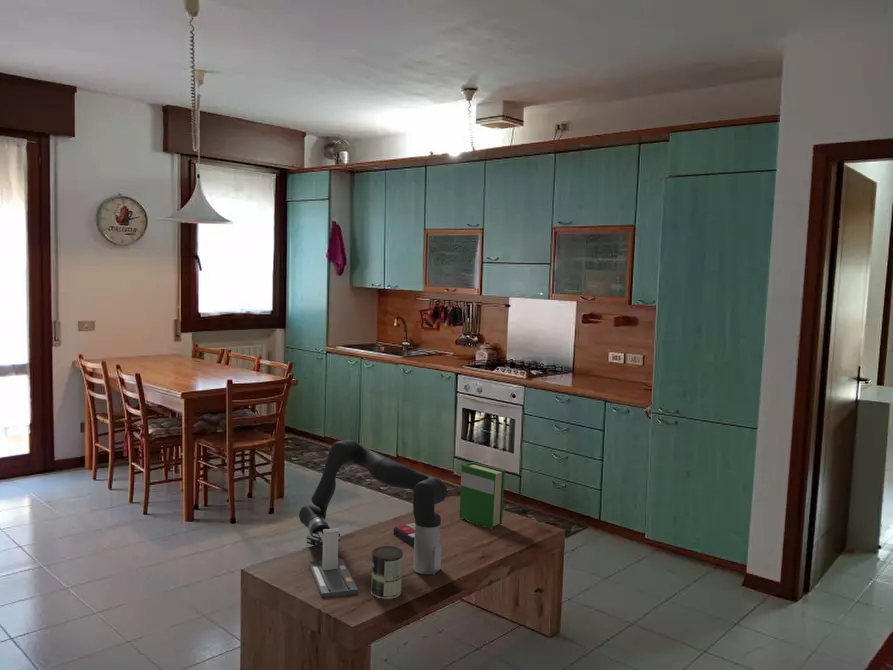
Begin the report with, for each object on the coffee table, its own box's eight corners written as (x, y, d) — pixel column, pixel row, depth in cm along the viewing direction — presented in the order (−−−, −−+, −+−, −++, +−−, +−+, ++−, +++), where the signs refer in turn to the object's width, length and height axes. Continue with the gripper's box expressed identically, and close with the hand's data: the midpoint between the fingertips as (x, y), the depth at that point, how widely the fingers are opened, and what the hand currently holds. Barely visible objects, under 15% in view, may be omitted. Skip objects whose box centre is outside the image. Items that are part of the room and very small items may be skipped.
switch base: (309, 565, 262) (309, 560, 262) (342, 562, 266) (342, 557, 266) (321, 597, 238) (321, 591, 238) (357, 593, 242) (358, 587, 242)
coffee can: (367, 598, 239) (369, 556, 238) (374, 584, 249) (375, 544, 248) (398, 600, 238) (400, 559, 237) (403, 587, 248) (405, 547, 247)
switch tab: (321, 567, 257) (323, 529, 255) (336, 566, 259) (337, 528, 257) (323, 570, 255) (324, 531, 253) (337, 569, 256) (339, 530, 255)
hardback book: (502, 525, 312) (504, 470, 309) (491, 529, 306) (494, 473, 304) (469, 514, 323) (472, 461, 321) (459, 518, 318) (461, 464, 315)
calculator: (416, 521, 302) (435, 531, 290) (415, 531, 302) (435, 542, 290) (393, 526, 296) (412, 536, 284) (392, 536, 296) (412, 547, 284)
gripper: (302, 522, 274) (309, 538, 258) (337, 519, 279) (346, 535, 263) (301, 541, 275) (309, 559, 259) (336, 538, 279) (345, 555, 263)
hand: (327, 547), depth 261 cm, fingers closed
